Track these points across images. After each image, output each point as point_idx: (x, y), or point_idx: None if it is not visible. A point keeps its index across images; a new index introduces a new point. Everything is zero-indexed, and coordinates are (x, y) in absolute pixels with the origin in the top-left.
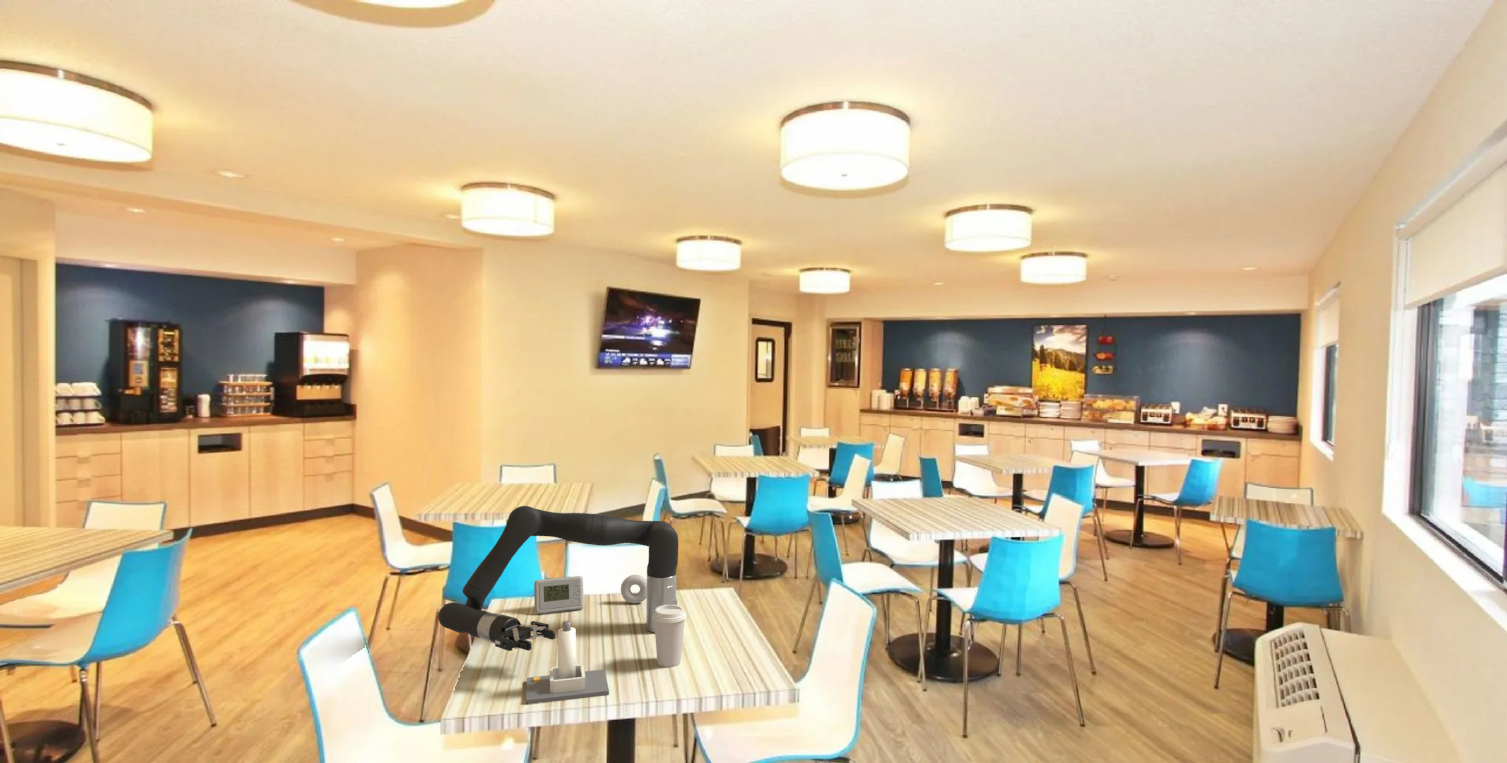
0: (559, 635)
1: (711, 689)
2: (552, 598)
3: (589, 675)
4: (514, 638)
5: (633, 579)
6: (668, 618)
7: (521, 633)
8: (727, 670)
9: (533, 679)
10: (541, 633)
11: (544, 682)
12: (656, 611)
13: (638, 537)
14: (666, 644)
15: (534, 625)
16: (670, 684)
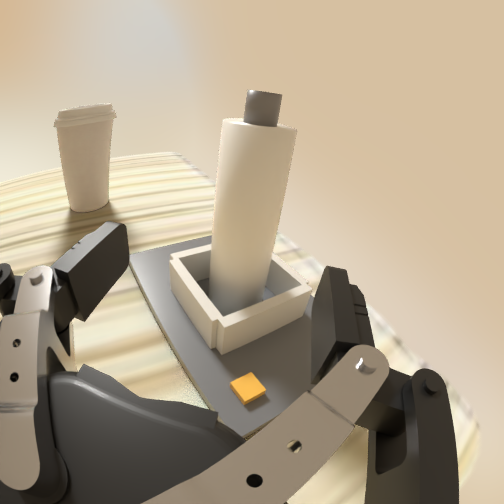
0: (293, 144)
1: (181, 172)
2: None
3: (166, 272)
4: (376, 389)
5: None
6: (112, 110)
7: (193, 423)
8: (126, 169)
9: (242, 406)
10: (62, 320)
11: (249, 360)
12: (91, 107)
13: None
14: (108, 161)
15: (10, 326)
16: (172, 193)
